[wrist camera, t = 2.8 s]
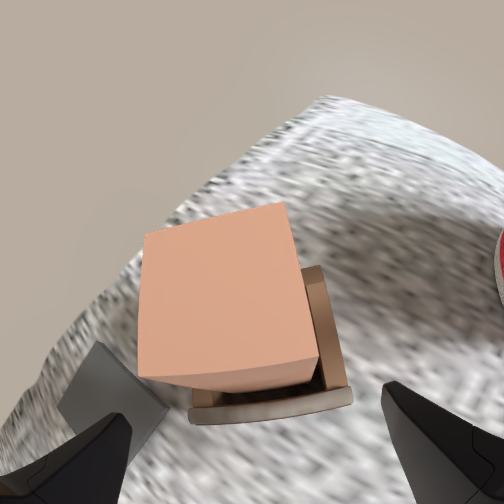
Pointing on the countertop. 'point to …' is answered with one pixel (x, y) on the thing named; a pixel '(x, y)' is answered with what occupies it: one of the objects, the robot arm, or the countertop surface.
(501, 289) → the supplement tub
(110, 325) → the countertop surface
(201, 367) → the block
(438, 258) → the countertop surface
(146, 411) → the pad
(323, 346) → the open wooden box
